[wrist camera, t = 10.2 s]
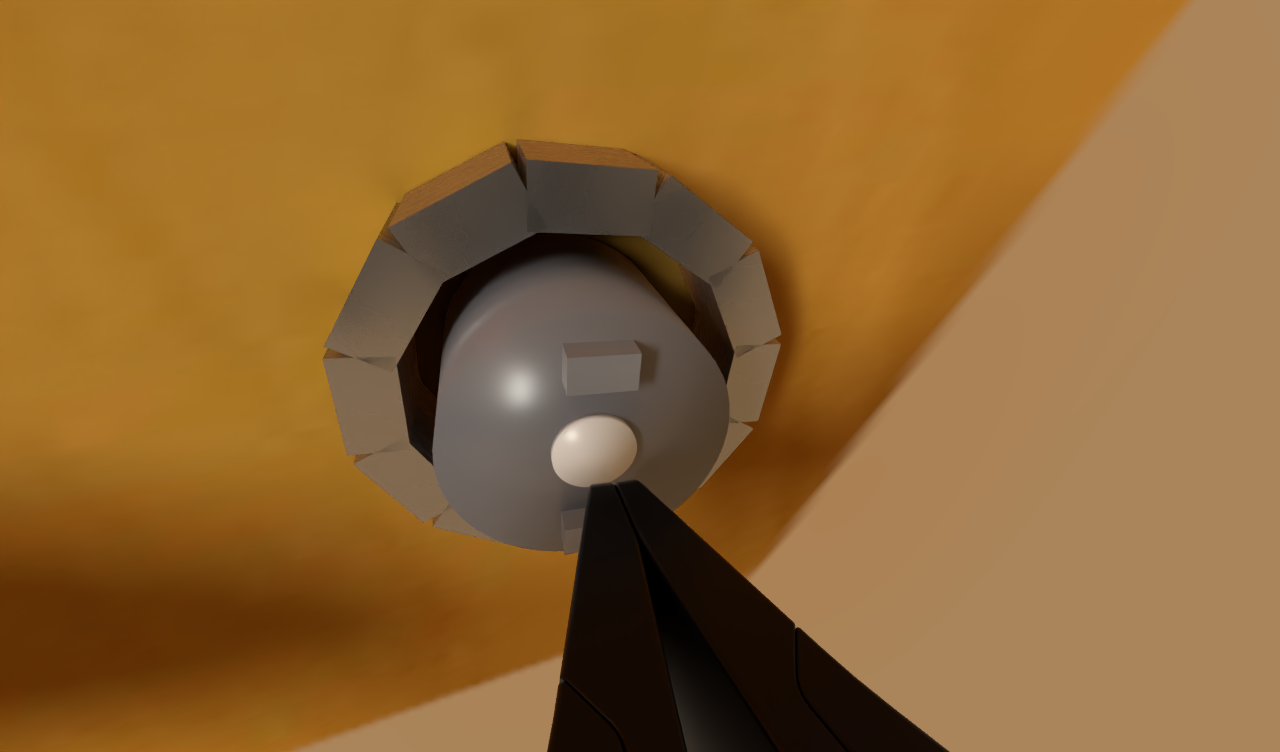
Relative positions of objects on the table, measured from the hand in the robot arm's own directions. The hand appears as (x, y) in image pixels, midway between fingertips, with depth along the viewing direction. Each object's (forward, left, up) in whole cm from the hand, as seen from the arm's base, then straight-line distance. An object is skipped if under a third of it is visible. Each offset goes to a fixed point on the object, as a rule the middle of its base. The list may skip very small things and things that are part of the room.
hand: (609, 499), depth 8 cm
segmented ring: (0, 0, -6) cm, 6 cm away
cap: (0, 0, -6) cm, 6 cm away
